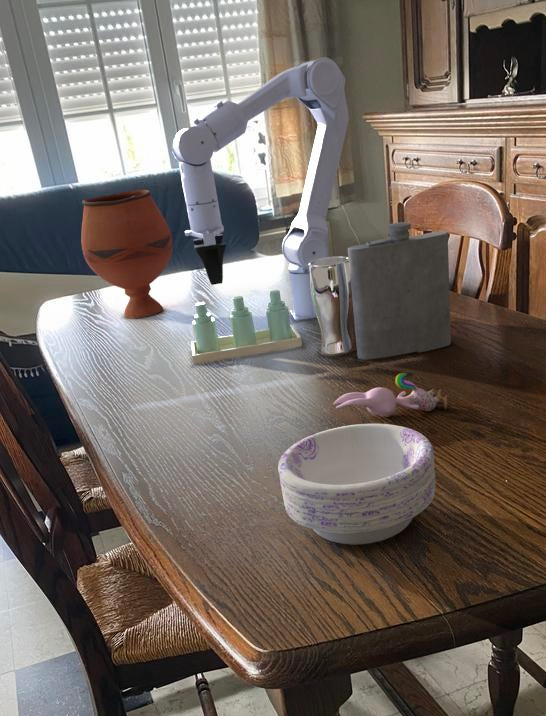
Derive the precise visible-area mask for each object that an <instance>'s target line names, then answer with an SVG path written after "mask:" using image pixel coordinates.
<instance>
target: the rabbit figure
mask: <svg viewBox="0 0 546 716" xmlns="http://www.w3.org/2000/svg"><path fill="white" fill-rule="evenodd" d="M407 376H408V373H406V372H400V373H398V374H397V375H396V376H395V381H394V383H395V385H396V387H398V388H399V389H401V390H403V391H401V392H400V393H399V394H398V395H397V397H396V396H395V394H394V392H393V391H392V390H391V389H389V388H386V387H381V386H380V387H374V388H372V389H370V390H368V391H366V392H361V391H360V392H359V391H358V392H357V391H353V392H348V393H344V394H342V395H340V396H339V397H338V398H337V399H336V400H335V401H334V402H333V405H334V406H336V407H335V409H342V408H344V407H347V406H360V407H364V408H366V409H367V411H368V412H369V413H371V414H372V415H375V416H378V415H379V416H381V417H382V418H384V417H385V418H389V417H390V416H393V415H394V414H395V412H396V408H397V407H400V408H402V409H404V410H408V411H409V410H411V409H412V410H413V409H414V410H418V411H423V412H431V411H433V410H435V408H436V406H437V405H438V403H440V402H441V401H443V408H444V409H445V410H446V409H447V408H448V406H447V405H448V398H447V397H448V395H447V394H446V395H445V397H443V396H441V391H442V388H440V389H439V390H438V391H436V390H435V389H434V388H432V389H431V390H429V391H426V390H425V389H423V388H420V387H417V386H416V385H415V384H414V382H412V381H409V380H405V379H404V378H405V377H407ZM405 390H412V391H411V393H409V395H406V394H407V392H406V391H405ZM434 394H435V395H436V396H434ZM405 395H406V396H405Z"/></svg>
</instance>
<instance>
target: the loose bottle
mask: <svg viewBox="0 0 546 716" xmlns="http://www.w3.org/2000/svg"><path fill="white" fill-rule="evenodd" d="M194 306H195V311H196V314H195V315H194V316H193V319H194V320H193V321H192V322H191V324H192V329H193V334H194V339H195V340H194V341H196V345H197V350H198V354H201V353H207V352H213V351H219V350H220V345H219V339H218V337H219V333H218V329H217V323H216V318H214V317H212V313H211V312H208V309H207V304H206V302H204V301H202V302H196V303H195V305H194Z"/></svg>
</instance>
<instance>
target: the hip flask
mask: <svg viewBox="0 0 546 716" xmlns="http://www.w3.org/2000/svg"><path fill="white" fill-rule="evenodd" d="M411 225H412V223H411V222H410V221H409V222H408V221H402V222H401V221H400V222H393V223H390V224H387V225H386V232H388V233H389V234H387V237H384V238H381V239H377V240H372V241H366V242H365V243H364V244H356V245H351V246H349V247H347V254H348V256H347V257H349V268H350V279H351V290H352V301H353V322H354V334H355V345H356V355H357V359H359V360H364V361H365V360H374V359H381V358H389V357H395V356H401V355H405V354H410V353H416V352H417V353H418V354H421V353H425V352H430V351H433V350H438V349H440V348H441V349H442V348H445V347H448V346H451V343H452V340H451V339H452V338H451V304H450V303H451V300H450V299H451V298H450V267H449V265H450V263H449V262H450V261H449V260H450V259H449V233H448V231H444V230H443V231H442V230H440V231H439V230H437V231H431V232H427V233H422V234H418V235H413V236H411V235H410V230H411V228H412V226H411Z"/></svg>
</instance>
